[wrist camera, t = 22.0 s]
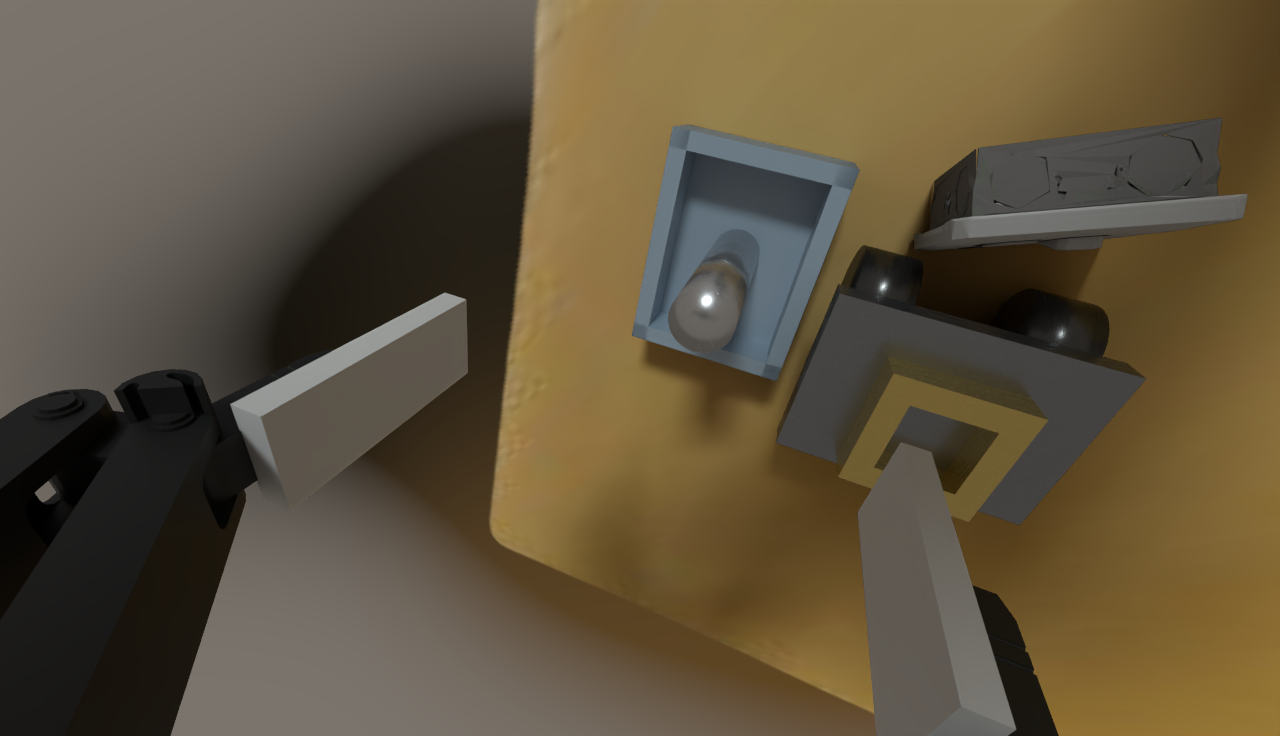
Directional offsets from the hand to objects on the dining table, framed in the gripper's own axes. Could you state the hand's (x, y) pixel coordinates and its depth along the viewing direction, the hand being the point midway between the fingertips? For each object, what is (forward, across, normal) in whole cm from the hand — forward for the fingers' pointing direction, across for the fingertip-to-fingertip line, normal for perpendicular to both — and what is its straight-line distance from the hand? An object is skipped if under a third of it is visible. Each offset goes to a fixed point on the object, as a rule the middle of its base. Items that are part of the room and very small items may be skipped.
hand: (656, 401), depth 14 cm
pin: (+20, 0, -1) cm, 20 cm away
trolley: (+21, +13, -4) cm, 25 cm away
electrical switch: (+21, +13, +6) cm, 25 cm away
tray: (+21, 0, -1) cm, 21 cm away
